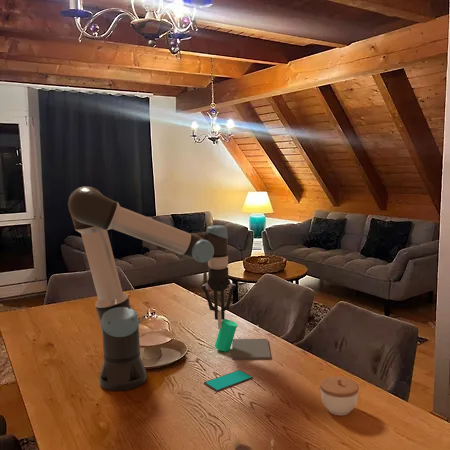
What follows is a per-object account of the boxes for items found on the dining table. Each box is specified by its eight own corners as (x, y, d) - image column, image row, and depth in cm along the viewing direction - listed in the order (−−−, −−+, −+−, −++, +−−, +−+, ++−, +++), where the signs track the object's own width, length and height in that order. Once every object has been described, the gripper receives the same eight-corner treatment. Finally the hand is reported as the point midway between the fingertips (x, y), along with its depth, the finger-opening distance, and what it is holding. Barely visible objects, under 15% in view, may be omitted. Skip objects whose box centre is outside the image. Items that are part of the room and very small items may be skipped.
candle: (211, 344, 183) (220, 315, 181) (222, 343, 187) (230, 315, 186) (222, 352, 179) (231, 322, 178) (232, 350, 183) (241, 321, 182)
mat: (270, 359, 174) (270, 356, 174) (232, 359, 174) (232, 357, 174) (267, 340, 192) (267, 338, 192) (232, 340, 192) (232, 339, 192)
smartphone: (203, 382, 156) (239, 369, 165) (203, 384, 156) (239, 371, 165) (216, 390, 150) (253, 377, 159) (216, 393, 150) (253, 379, 159)
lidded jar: (334, 423, 131) (335, 391, 130) (312, 405, 141) (312, 375, 139) (366, 414, 135) (366, 383, 134) (342, 397, 145) (343, 368, 143)
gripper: (235, 264, 183) (236, 323, 186) (201, 265, 183) (203, 324, 186) (235, 268, 175) (237, 330, 178) (200, 269, 175) (202, 331, 179)
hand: (220, 327), depth 182 cm, fingers closed
